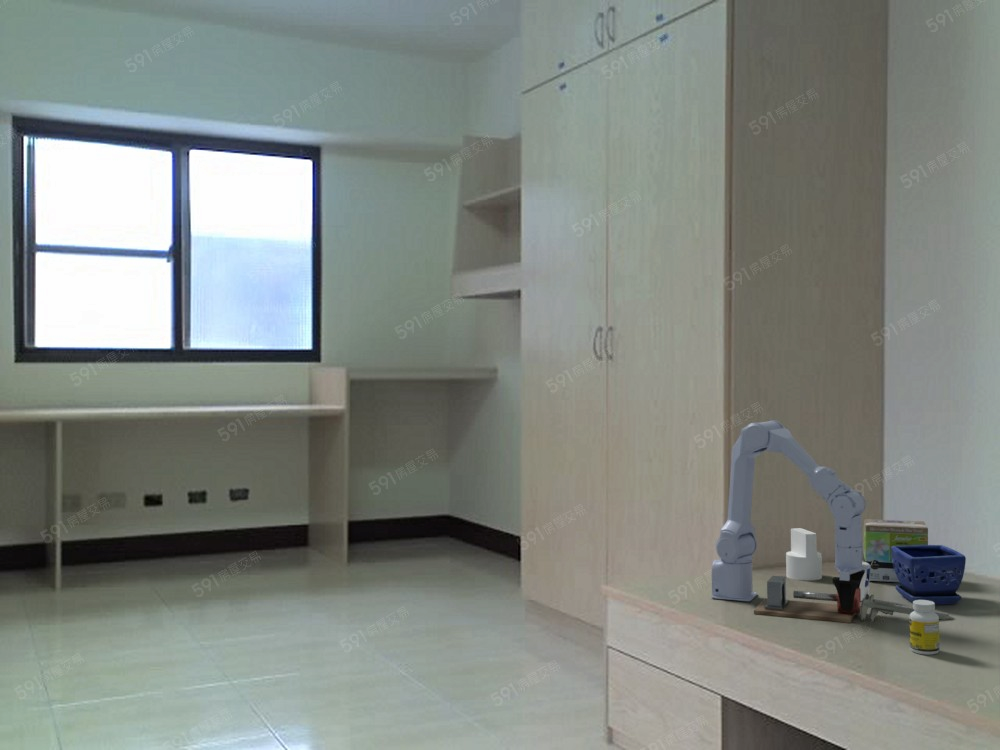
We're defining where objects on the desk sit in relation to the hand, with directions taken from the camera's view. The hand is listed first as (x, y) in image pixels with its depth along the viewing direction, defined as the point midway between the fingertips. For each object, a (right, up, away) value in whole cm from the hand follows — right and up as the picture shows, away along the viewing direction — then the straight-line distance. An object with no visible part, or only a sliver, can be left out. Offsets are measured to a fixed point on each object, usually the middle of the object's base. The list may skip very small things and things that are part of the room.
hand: (849, 606), depth 230 cm
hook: (-4, -1, +2) cm, 5 cm away
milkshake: (+8, -2, +14) cm, 16 cm away
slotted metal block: (-14, -2, +7) cm, 16 cm away
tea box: (+24, -1, +34) cm, 42 cm away
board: (-8, -2, +4) cm, 10 cm away
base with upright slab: (+2, -1, +39) cm, 39 cm away
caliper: (+11, -3, -4) cm, 12 cm away
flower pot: (+23, -2, +12) cm, 26 cm away
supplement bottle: (+6, -3, -27) cm, 28 cm away
